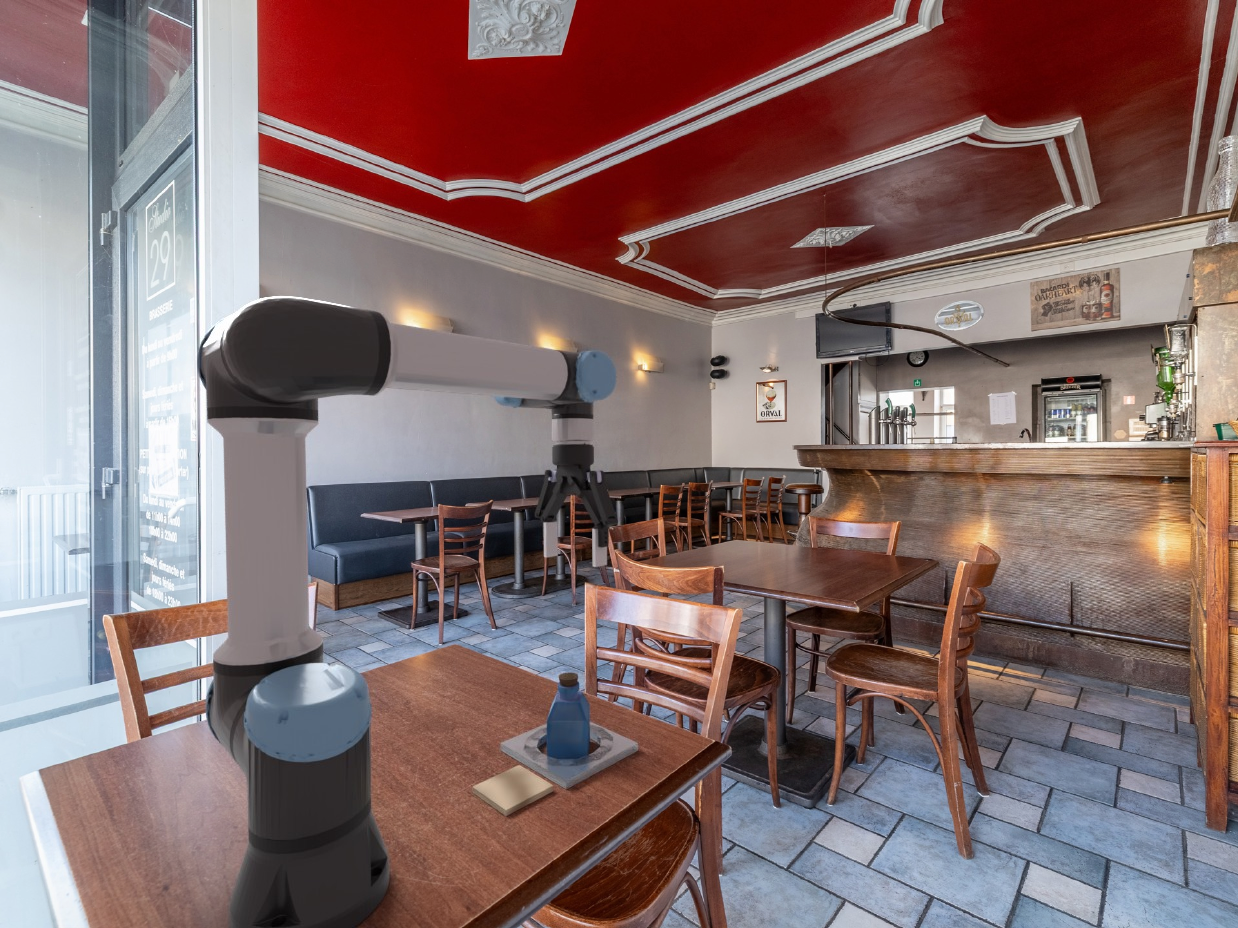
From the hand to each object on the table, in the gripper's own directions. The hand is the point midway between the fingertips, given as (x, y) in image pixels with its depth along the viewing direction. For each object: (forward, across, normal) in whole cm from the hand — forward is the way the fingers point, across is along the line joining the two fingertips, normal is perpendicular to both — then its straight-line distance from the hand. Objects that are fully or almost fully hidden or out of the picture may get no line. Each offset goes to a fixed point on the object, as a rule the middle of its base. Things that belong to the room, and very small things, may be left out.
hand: (574, 561), depth 107 cm
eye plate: (+28, -9, +9) cm, 31 cm away
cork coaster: (+28, -13, +22) cm, 38 cm away
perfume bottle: (+28, -9, +9) cm, 31 cm away
